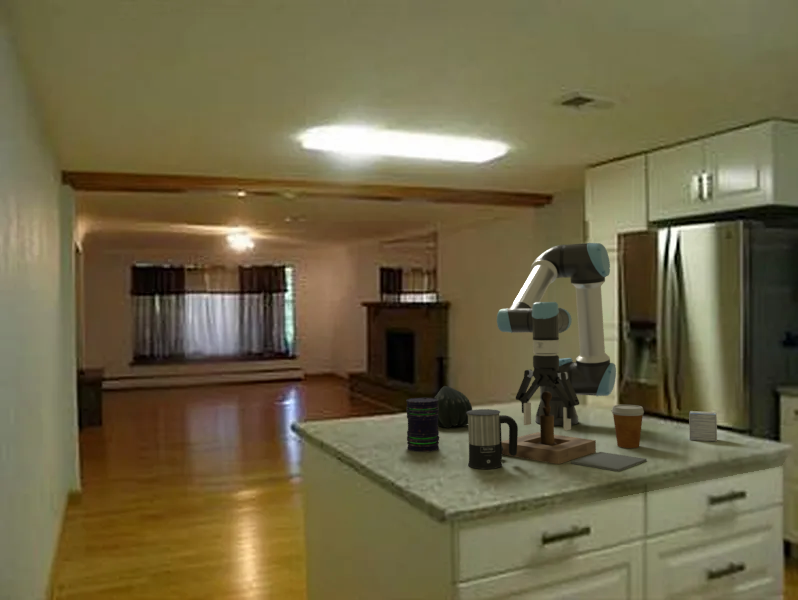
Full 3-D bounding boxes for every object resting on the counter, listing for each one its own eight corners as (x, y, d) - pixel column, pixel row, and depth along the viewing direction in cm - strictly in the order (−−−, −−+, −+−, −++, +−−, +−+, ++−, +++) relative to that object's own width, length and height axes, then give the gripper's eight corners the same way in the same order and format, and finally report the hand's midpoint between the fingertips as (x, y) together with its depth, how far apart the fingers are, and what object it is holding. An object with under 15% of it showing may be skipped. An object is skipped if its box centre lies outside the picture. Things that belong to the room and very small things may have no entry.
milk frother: (477, 471, 187) (477, 415, 187) (450, 459, 201) (449, 407, 201) (523, 465, 192) (522, 411, 192) (493, 454, 207) (493, 403, 207)
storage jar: (433, 452, 210) (432, 402, 210) (402, 451, 213) (401, 401, 213) (443, 446, 219) (442, 398, 219) (413, 444, 223) (412, 397, 223)
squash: (478, 414, 246) (469, 378, 256) (436, 417, 243) (428, 382, 253) (471, 435, 256) (463, 401, 266) (431, 439, 254) (424, 404, 264)
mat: (570, 463, 194) (570, 461, 194) (600, 453, 205) (600, 451, 205) (618, 471, 184) (618, 469, 184) (646, 460, 195) (646, 458, 195)
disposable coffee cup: (644, 444, 218) (644, 405, 218) (644, 450, 209) (644, 409, 209) (612, 442, 221) (611, 404, 221) (611, 448, 212) (610, 408, 212)
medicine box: (717, 439, 223) (716, 412, 223) (717, 442, 219) (716, 414, 219) (690, 437, 226) (689, 410, 226) (689, 440, 222) (688, 412, 222)
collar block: (499, 453, 207) (499, 441, 207) (537, 443, 221) (537, 432, 221) (558, 464, 193) (558, 451, 193) (595, 452, 207) (595, 440, 207)
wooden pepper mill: (557, 450, 210) (556, 390, 210) (560, 455, 203) (559, 393, 204) (534, 450, 211) (534, 390, 211) (537, 455, 204) (536, 393, 204)
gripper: (503, 353, 213) (504, 424, 213) (576, 357, 196) (578, 434, 196) (518, 352, 219) (519, 420, 218) (590, 355, 201) (592, 430, 201)
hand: (547, 427), depth 207 cm, fingers open, 13 cm apart
